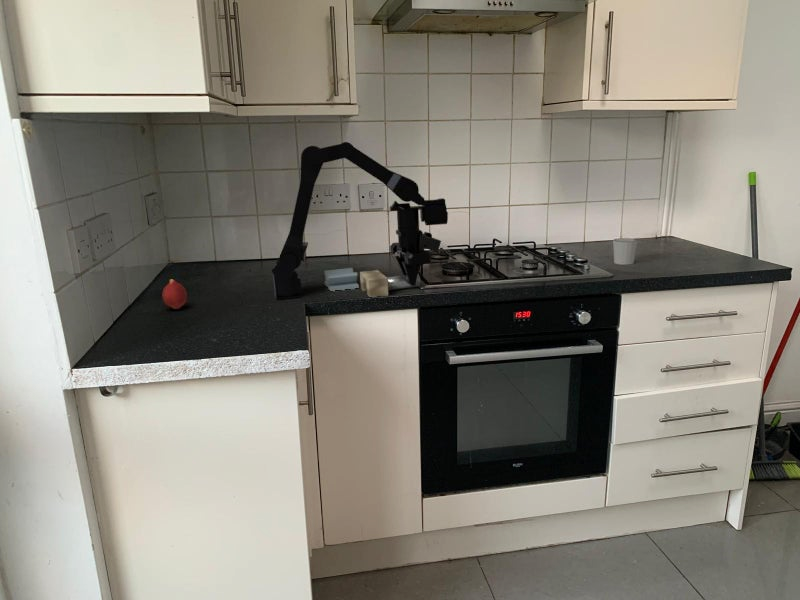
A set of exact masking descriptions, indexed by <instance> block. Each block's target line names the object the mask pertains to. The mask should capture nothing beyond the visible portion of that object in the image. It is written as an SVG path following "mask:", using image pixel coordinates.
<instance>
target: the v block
mask: <svg viewBox="0 0 800 600" xmlns="http://www.w3.org/2000/svg"><path fill="white" fill-rule="evenodd" d="M353 269H354V268H353V267H348V268H347V267H346V268H339V269H330V270H328V269H327V270H324V272H323V273H324V278H325V281H324V285H325V287H326V286H327V287H328V288H327V287H326V288H327V290H328V291H329V290H330V291H333V292H336V291H335V290H342V291H346V290H345V289H351V290H356V289H355V288H359V289H360V285H359V284H358V282H357V281H358V272H356V271H355V272H354V270H353ZM330 291H329V292H330Z"/></svg>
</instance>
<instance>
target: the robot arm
mask: <svg viewBox="0 0 800 600" xmlns="http://www.w3.org/2000/svg"><path fill="white" fill-rule="evenodd" d="M342 159H345V160H348V161H349V162H350V163H352V164H353V165H356V166H357V167H358V168H360V169H361V170H363V171H364V172H366V173H367V174H370V176H372V177H374V178H376V180H378V181H380V182H381V183H383V184H384V185H385V186H386V187H387V188H388V190H391V192H392V193H393V194H394V195H396V197H398V198H399V199H400V200H401V201H402V202H405V203H398V202H397V200H394V201H393V203H392V205H390V206H389V210H390V211H391V212H395V211H396V221H397V222H396V223H397V229H396V230H395V234H396V235H397V238H398V239H397V241H398V242H392V243H391V245H389V252H390V254H391V255H395V256H394V259H395V261H396V262H397V265H398V266H399V269H400V272H401V271H402V273H403V274H402V273H401V274H402V276H403V275H407V276H408V279H409V281H410V284H411V285H415V284H416V280H417V276H418V275H419V273H418V271H419V268H420V269H421V266H423V265H424V264H429V263H432V254H431V253H430V252H428V251H427V250H431V251H434V252H435V253H438V252H439V250H440V246H441V243H442V240H440V239H437V238H436V237H433V234H432V233H430V232H427V231H424V232H423V231H422V230H421V229H420V222H421V223H424V225H425V226H434V225H435V226H436V225H437V226H438V225H447V224H448V221H449V220H448V219H449V214H448V211H447V204H446V199H445V198H442V197H441V198H436V199H425V197H423V196H422V195H421V193H419V191H420V190H419V185H418V184H417V182H416V181H415V180H413V179H411V178H409V177H406V176H404V175H401V174H399V173H397V172H395V171H392V170H390V169H388V168H387V167H385V166H383V165H382V164H381V163H379V162H377V161H376V160H375V159H373V158H372V157H370V156H368V155H367V154H365V153H364V152H362V151H361V150H360V149H358V148H356V147H355V146H354V145H353V144H352V143H351V142H348V141H344V142H341V143H338V144H334V145H330V146H325V147H324V146H323V147H320V146H317V145H311V146H307V147H304V149H303V150H302V152H301V155H300V182H299V186H298V191H297V197H296V200H295V205H294V210H293V215H292V219H291V223H290V224H291V225H290V227H289V232H288V235H287V237H286V240H285V242H284V244H283V247H282V249H281V252H280V254H279V258H278V259H277V261H276V262H275V264H274V265H273V267H272V269H271V273H272V278H273V279H272V280H273V286H274V287H273V289H274V292H273V293H274V294H273V295H274V297H275V300H276V301H277V300H285V299H295V298H301V297H302V296H301V295H302V283H301V282H302V281H301V278H300V276H299V274H298V272H297V271H296V269H297V268H299V267H300V265H301V263H302V262H305V259H306V256H307V255H306V251H307V248H308V245H309V242H306V241H304V233H305V229H306V224H307V220H308V215H309V210H310V207H311V203H312V199H313V193H314V190H315V189H314V188H315V184H316V181H317V179H318V178H319V175H320V172H321V170H322V167H323V165H324V164H326V163H328V162H329V163H331V162H334V161H338V160H342ZM410 202H412V203H414V204H416V205H412V206H411V204H410ZM419 211H420V213H419ZM419 215H420V217H419ZM425 249H427V250H425Z"/></svg>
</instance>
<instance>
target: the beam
mask: <svg viewBox="0 0 800 600" xmlns="http://www.w3.org/2000/svg"><path fill="white" fill-rule="evenodd" d="M387 277H388V276H386V275H385V274H383V273H382V272H381V271H379V270H378V269H375V270H374V269H373V270H366V271H359V278H360V280H359V282H360V289H361V291H362V292H366V296H367V295H368V296H369V297H372V298H378V297H377V296H381V297H388V296H389V290H388V280H387ZM366 290H367V291H366ZM368 296H367V297H368ZM369 297H368V298H369Z"/></svg>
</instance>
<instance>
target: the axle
mask: <svg viewBox="0 0 800 600" xmlns="http://www.w3.org/2000/svg"><path fill="white" fill-rule="evenodd" d="M386 277H387V280H388V291H393V290H394V291H395V290H402V289H411V288H418V287H420V286H421V278H420V275H419V274H418V276H417V280H416V284H415V285H411V284H410V281H409V279H408V276H407V275H403V274H402V275H396V276H386Z"/></svg>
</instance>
